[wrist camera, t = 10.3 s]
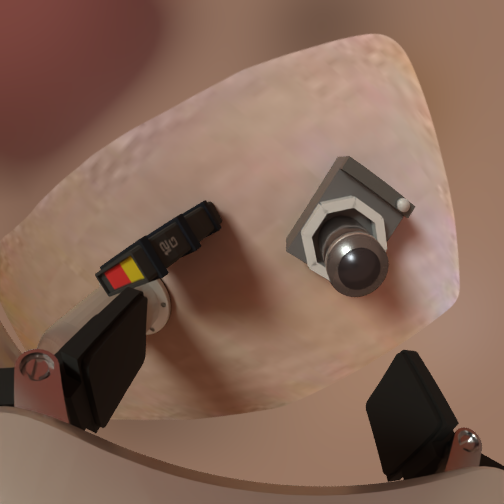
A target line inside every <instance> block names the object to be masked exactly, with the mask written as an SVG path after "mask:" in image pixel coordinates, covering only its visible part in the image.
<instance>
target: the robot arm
mask: <svg viewBox="0 0 504 504" xmlns="http://www.w3.org/2000/svg"><path fill="white" fill-rule="evenodd" d="M170 313H171V302H170V297H169V294H168V292H167V289H166V288H165V286H164V284H163V282H162V281H161V280H160V279H157V280H155V281H152V282H149V283H146V284H144V285H141V286H138V287H135V288H131V287H127V288H125V289H124V290H123V291H122V292H121V293H119V294H116V295H114V296H111V297H109V296H108V295H107V293H106V292H105V290H104V289H103V287H102V286H101V284H100V287H98V288H97V289H96V290H95V291H93V292H92V293H91V294H89V295H88V296H87V297H86V298H84V299H83V300H82V301H81V302H80V303H78V304H77V305H76V306H75V307H73V308H72V309H71V310H70V311H69V312H67V313H66V314H65V315H64V316H63V317H61V318H60V319H59V320H58V321H57V322H55V323H54V324H53V325H52V326H51V327H50V328H49V329H47V330H46V332H45V333H44V334H43V336H42V337H41V339H40V341H39V344H38V347H37V349H32V350H28V351H26V352H24V353H21V352H20V350H19V349H18V348H17V346H16V345H15V343H14V342H13V340H12V339H11V337H10V336H9V334H8V333H7V331H6V329H5V328H4V326H3V325H2V323H1V321H0V504H504V466H502V465H501V464H499V463H497V462H495V461H494V460H492V459H490V458H489V457H487V456H485V455H483V454H482V453H481V451H482V443H481V440H480V438H479V437H478V435H477V434H476V433H475V432H474V431H472V430H471V429H469V428H460V429H458V430H457V431H456V432H455V433H454V432H453V429H454V428H455V427H456V426H457V424H458V421H457V419H456V417H455V415H454V414H453V412H452V410H451V408H450V406H449V405H448V403H447V401H446V399H445V398H444V396H443V394H442V392H441V391H440V389H439V387H438V385H437V384H436V382H435V380H434V379H433V377H432V375H431V374H430V372H429V370H428V369H427V367H426V366H425V364H424V362H423V361H422V359H421V358H420V356H419V354H418V353H417V352H416V351H408V350H402V351H401V352H400V353H398V354H397V355H396V356H395V358H394V360H393V361H392V363H391V365H390V366H389V368H388V370H387V371H386V373H385V375H384V376H383V378H382V380H381V381H380V383H379V384H378V386H377V387H376V389H375V390H374V392H373V393H372V395H371V396H370V398H369V399H368V401H367V403H366V411H367V414H368V417H369V421H370V424H371V428H372V431H373V435H374V439H375V442H376V446H377V450H378V454H379V458H380V461H381V465H382V469H383V473H384V474H385V475H386V476H387V480H388V482H387V483H379V484H368V485H355V486H331V487H330V486H328V487H327V486H323V487H321V486H292V485H278V484H268V483H260V482H251V481H245V480H239V479H233V478H227V477H222V476H217V475H212V474H208V473H204V472H199V471H195V470H191V469H187V468H184V467H180V466H177V465H173V464H170V463H167V462H163V461H161V460H157V459H155V458H152V457H148V456H146V455H143V454H140V453H137V452H134V451H132V450H129V449H126V448H124V447H121V446H119V445H116V444H114V443H112V442H109V441H107V440H105V439H103V438H100V437H98V436H95V435H93V434H91V433H88V432H86V431H85V429H86V428H87V429H89V430H91V431H93V432H95V433H97V430H98V429H99V428H100V427H102V428H104V427H105V426H106V425H107V423H108V422H109V420H110V418H111V416H112V415H113V413H114V411H115V410H116V408H117V406H118V404H119V403H120V401H121V399H122V398H123V396H124V394H125V393H126V391H127V389H128V388H129V386H130V384H131V383H132V381H133V379H134V378H135V376H136V374H137V373H138V371H139V369H140V368H141V366H142V364H143V362H144V360H145V352H146V335H150V334H154V333H156V332H158V331H160V330H161V329H162V328H163V327H164V326H165V324H166V323H167V321H168V319H169V317H170ZM402 477H403V478H404V480H401V481H396V480H400V479H401V478H402ZM389 481H395V482H389Z"/></svg>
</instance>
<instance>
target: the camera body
mask: <svg viewBox="0 0 504 504" xmlns="http://www.w3.org/2000/svg"><path fill="white" fill-rule="evenodd" d="M414 208H415V206H414V205H413V204H411V203H410V202H409V201H408V200H407V199H405V198H404V197H403V196H402V195H401V194H399V193H398V192H397V191H396V190H394V189H393V188H392V187H391V186H389V185H388V184H387V183H385V182H384V181H383V180H381V179H380V178H379V177H377V176H376V175H375V174H373V173H372V172H371V171H369V170H368V169H367V168H365V167H364V166H362V165H361V164H360V163H358V162H357V161H355V160H354V159H353V158H351V157H350V156H346V157H338V158H337V159H336V161H335V162H334V164H333V166H332V167H331V169H330V170H329V172H328V174H327V175H326V177H325V178H324V180H323V182H322V183H321V185H320V186H319V188H318V190H317V191H316V193H315V194H314V196H313V198H312V199H311V201H310V202H309V204H308V205H307V207H306V209H305V210H304V212H303V213H302V215H301V216H300V218H299V220H298V221H297V223H296V224H295V226H294V227H293V229H292V230H291V232H290V234H289V235H288V237H287V238H286V251H287V252H288V253H290V254H292V255H293V256H295V257H297V258H298V259H300V260H302V261H303V262H305V263H307V264H308V267H309V269H311V270H312V271H314V272H316V273H317V274H319V275H321V276H322V277H324V278H326V279H327V280H329V281H330V279H329V277H328V275H327V271H326V268H325V263H324V260H323V257H322V253H321V250H320V247H319V243H318V237H319V232H320V230H321V228H322V226H323V225H324V224H325V223H326V222H327V221H328V220H329V219H331V218H333V217H336V216H340V215H345V216H350V217H352V218H354V219H356V220H357V221H358V222H359V223H360V224H361V225H362V226H363V227H364V228H365V229H366V230H367V231H368V232H369V233H370V234H371V235H372V236H373V237H374V238H375V239H376V240H377V241H378V242H379V243H380V245H381V246H382V247H383V249H384V250H385V252H386V249H387V243H386V242H387V241H388V239H389V238H390V236H391V235H392V233H393V232H394V230H395V229H396V227H397V226H398V224H399V223H400V221H401V220H402V218H403V216H405V217H407V218H409V216H410V214H411V213H412V211H413V210H414Z"/></svg>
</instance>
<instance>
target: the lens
mask: <svg viewBox="0 0 504 504" xmlns="http://www.w3.org/2000/svg"><path fill="white" fill-rule="evenodd" d="M318 243H319V247H320V250H321V253H322V257H323V260H324V263H325V268H326V271H327V275H328V277H329V279H330V282H331V284H332V285H333V287H334V288H335V289H336V290H337V291H338V292H340V293H341V294H343V295H346V296H350V297H360V296H364V295H367V294H370V293H371V292H373V291H374V290H376V289H377V288H378V287H379V286H380V285H381V284H382V282H383V281H384V279H385V277H386V275H387V272H388V257H387V254H386V252H385V250H384V249H383V247H382V246H381V245H380V243H379V242H378V241H377V240H376V239H375V238H374V237H373V236H372V235H371V234H370V233H369V232H368V231H367V230H366V229H365V228H364V227H363V226H362V225H361V224H360V223H359V222H358V221H357V220H356V219H354V218H352V217H350V216H345V215H340V216H336V217H333V218H331V219H329V220H328V221H327V222H326V223H325V224H324V225H323V226H322V228H321V230H320V232H319V237H318Z"/></svg>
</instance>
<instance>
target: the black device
mask: <svg viewBox="0 0 504 504" xmlns="http://www.w3.org/2000/svg"><path fill="white" fill-rule="evenodd" d="M221 222H222V220H221V218H220V216H219V214H218V213H217V211H216V209H215V207H214V206H213V204H212V203H211V202H207V201H206V200H205V201H203V202H201V203H200V204H198V205H196V206H195V207H193V208H191V209H190V210H188V211H186V212H185V213H183V214H180V215H178V216H177V217H175V218H174V219H172V220H170V221H169V222H167V223H166V224H164V225H163V226H161V227H159V228H158V229H156V230H155V231H153V232H152V233H150V234H149V235H147V236H144V237H142V238H141V239H139V240H138V241H136V242H135V243H133V244H132V245H130V246H129V247H128V248H126V249H125V250H123V251H122V252H120V253H119V254H118V255H116V256H115V257H113V258H112V259H111V260H109V261H108V262H106V263H105V264H104V265H102V266H101V267H100V269H101V270H100V271H99V272H97V273H96V274H95V276H96V278H97V279H98V281H99V282H100V284H101V286H102V287H103V289H104V290H105V292H106V293H107V295H108V296H109V297H111V296H114V295H116V294H119V293H121V292H122V291H123V290H124V289H125V288H127V287H131V288H135V287H138V286H141V285H144V284H146V283H149V282H152V281H155V280H157V279H160V278H163V277H164V276H166V275H167V274H168V273H169V272H168V270H167V269H166V268H168V267H169V266H170V265H172V264H173V263H174V262H176V261H177V260H178V259H179V258H181V257H183V256H185V255H187V254H190V253H192V252H194V251H196V250H198V249H199V248H200V247H201V244H200V243H199V242H200V241H201V240H203V239H204V238H205V237H207V236H209V235H211V234H213V233H215V232H217V231H219V230H220V229H221V226H220V223H221Z"/></svg>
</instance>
